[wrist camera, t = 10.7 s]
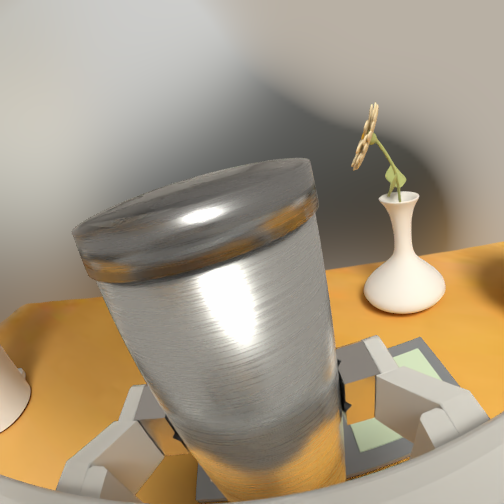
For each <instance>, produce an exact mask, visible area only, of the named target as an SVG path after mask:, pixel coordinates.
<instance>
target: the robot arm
mask: <svg viewBox="0 0 504 504" xmlns="http://www.w3.org/2000/svg"><path fill="white" fill-rule="evenodd" d="M336 355H337V364H338V373H339V383H340V394H341V405H342V412H343V415H344V417H345V420H346V423H347V425H350V424H354V423H358V422H361V421H365V420H368V419H371V418H374V417H375V419H376V420H378V421H379V422H381V423H382V424H384V425H385V426H387V427H388V428H390V429H391V430H393V431H395V432H396V433H398V434H399V435H401V436H402V437H404V438H405V439H407V440H409V441H410V442H412V443H413V444H414V445H413V448H412V452H411V456H410V459H409V460H408V461H405V462H403V463H400V464H398V465H395V466H392V467H390V468H387V469H384V470H381V471H378V472H375V473H372V474H369V475H366V476H363V477H360V478H356V479H353V480H350V481H346V482H343V483H339V484H335V485H331V486H327V487H323V488H319V489H314V490H310V491H305V492H300V493H295V494H290V495H284V496H278V497H272V498H265V499H258V500H250V501H240V502H229V503H215V504H504V411H503V412H502V413H500V414H499V415H497V416H495V417H494V418H492V419H490V418H489V417H488V415H487V414H486V413H485V411H484V410H483V409H482V407H481V406H480V404H479V403H478V402H477V400H476V399H475V398H474V396H473V395H472V394H471V392H470V391H469V390H466V389H463V388H460V387H458V386H455V385H452V384H449V383H447V382H444V381H441V380H439V379H436V378H433V377H431V376H428V375H426V374H423V373H420V372H418V371H415V370H413V369H410V368H408V367H405V366H402V367H399V366H398V365H397V363H396V362H395V360H394V359H393V357H392V356H391V354H390V353H389V351H388V349H387V348H386V346H385V345H384V343H383V342H382V340H381V339H380V337H379V336H377V335H375V336H372V337H369V338H366V339H363V340H361V341H358V342H355V343H351V344H348V345H345V346H341V347H338V348H336ZM25 378H26V374H25V372H24V371H23V369H22V368H18V369H17V367H16V366H15V365H14V363H13V362H12V360H11V359H10V358H9V356H8V355H7V354H6V352H5V351H4V349H3V348H2V347H1V345H0V432H2V431H3V430H5V429H6V428H7V427H9V426H10V425H11V424H12V423H13V422H14V421H15V420H16V419H17V418H18V417H19V416H20V414H21V413H22V412H23V410H24V409H25V407H26V405H27V403H28V401H29V398H30V392H31V390H30V386H29V384H28V383H27V381H26V380H25ZM189 452H190V450H189V449H188V447H187V446H186V445H185V443H184V442H183V440H182V439H181V437H180V436H179V434H178V433H177V431H176V430H175V428H174V427H173V425H172V424H171V422H170V421H169V419H168V418H167V416H166V414H165V413H164V411H163V410H162V408H161V406H160V405H159V403H158V401H157V400H156V398H155V397H154V395H153V393H152V391H151V390H150V388H149V386H148V385H147V384H144V385H133V386H132V387H131V388H130V389H129V392H128V395H127V398H126V400H125V403H124V406H123V409H122V411H121V414H120V417H119V420H118V421H114V422H113V423H112V424H110V425H109V426H108V427H107V428H106V429H105V430H103V431H102V432H101V433H100V434H99V435H98V436H96V437H95V438H94V439H93V440H92V441H91V442H89V443H88V444H87V445H86V446H85V447H83V448H82V449H81V450H80V451H79V452H78V453H76V454H75V455H74V456H73V457H72V458H70V459H69V460H68V461H67V462H66V464H65V467H64V469H63V472H62V475H61V477H60V480H59V482H58V485H57V488H56V490H51V489H47V488H43V487H39V486H35V485H32V484H28V483H25V482H21V481H18V480H15V479H12V478H9V477H6V476H3V475H0V504H147V503H143V502H142V501H141V500H140V499H138V498H137V497H136V496H135V494H136V493H137V492H138V491H139V489H140V488H141V487H142V485H143V484H144V483H145V482H146V480H147V479H148V478H149V477H150V475H151V474H152V473H153V471H154V470H155V469H156V468H157V466H158V465H159V464H160V462H161V461H162V460H163V458H164V456H167V455H181V454H189Z"/></svg>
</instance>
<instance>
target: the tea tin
mask: <svg viewBox="0 0 504 504" xmlns="http://www.w3.org/2000/svg"><path fill="white" fill-rule="evenodd" d="M318 206H319V203H318V198H317V193H316V187H315V182H314V177H313V173H312V168H311V163H310V160H309V159H305V158H288V159H277V160H271V161H263V162H258V163H252V164H247V165H242V166H238V167H232V168H228V169H224V170H220V171H215V172H212V173H208V174H204V175H200V176H197V177H193V178H190V179H186V180H183V181H180V182H177V183H173V184H170V185H167V186H164V187H161V188H158V189H155V190H153V191H150V192H147V193H145V194H142V195H139V196H137V197H134V198H131V199H129V200H126V201H124V202H121V203H119V204H117V205H115V206H112V207H110V208H108V209H106V210H104V211H102V212H100V213H98V214H96V215H94V216H92V217H90V218H88V219H86V220H85V221H83V222H82V223H80V224H79V225H77V226H76V227H75V228H74V229H73V230H72V235H73V237H74V240H75V243H76V246H77V248H78V251H79V253H80V256H81V259H82V261H83V264H84V266H85V269H86V271H87V273H88V276H89V277H91V278H92V279H94V280H96V282H97V284H98V287H99V289H100V291H101V293H102V296H103V298H104V300H105V303H106V305H107V307H108V309H109V311H110V314H111V316H112V318H113V320H114V322H115V324H116V326H117V328H118V330H119V332H120V334H121V336H122V338H123V340H124V342H125V344H126V346H127V348H128V350H129V352H130V354H131V356H132V358H133V359H134V361H135V363H136V365H137V367H138V369H139V370H140V372H141V374H142V376H143V378H144V379H145V381H146V383H147V385H148V386H149V388H150V390H151V391H152V393H153V395H154V397H155V398H156V400H157V401H158V403H159V405H160V406H161V408H162V410H163V411H164V413H165V414H166V416H167V418H168V419H169V421H170V422H171V424H172V425H173V427H174V428H175V430H176V431H177V433H178V434H179V436H180V437H181V439H182V440H183V442H184V443H185V445H186V446H187V447H188V449H189V450H190V452H191V453H192V455H193V456H194V457H195V459H196V460H197V461H198V463H199V464H200V466H201V467H202V468H203V470H204V471H205V472H206V474H207V475H208V476H209V477H210V479H211V480H212V481H213V483H214V484H215V485H216V486H217V488H218V489H219V490H220V491H221V493H222V494H223V495H224V496H225V497H226V499H227V500H228V501H229V502H240V501H250V500H258V499H265V498H272V497H278V496H284V495H290V494H295V493H300V492H305V491H310V490H314V489H319V488H323V487H327V486H331V485H335V484H339V483H343V482H346V467H345V447H344V432H343V418H342V405H341V394H340V383H339V373H338V364H337V355H336V346H335V338H334V330H333V322H332V315H331V307H330V300H329V293H328V287H327V280H326V274H325V267H324V261H323V255H322V250H321V244H320V237H319V232H318V226H317V221H316V215H315V212H316V211H317V209H318Z"/></svg>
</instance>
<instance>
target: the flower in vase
mask: <svg viewBox="0 0 504 504" xmlns="http://www.w3.org/2000/svg"><path fill="white" fill-rule="evenodd" d="M377 115H378V104H377V106H376V102H375V103H374V109H373V105H372V104H371V107H370V111H369V119H368V120H366V123H365V126H364V132H363V134H362V139H361V140H360V142H359V144H358V147H357V150H356V156H355V158H354V160H353V162H352V165H351V166H354V164H355V163H356V164H355V166H354V168H353V170H355V169H356V170H357V169H358V168H359V167H360V165H361V163H362V161H363V159H364V157H365V154H366V151H367V149H368V146H369V145H372V144H375V143H377V145H378V146H379V147H380V149H381V150H382V151H383V153H384V154H385V156H386V157H387V159H388V161H389V162H390V164H391V166H390V167H389V169H388V170H387V172H386V175H385V177H386V179H387V180H388V181H389V182H390V183H391V185H390V190H389V192H388V194H385V195H383V196H381V197H380V198H379V200H380V202H381V203H382V204H383V205H384V206H385V208H386V209H387V211H388V213H389V215H390V219H391V222H392V226H393V232H394V242H395V247H394V252H393V255H392V256H391V258H390V259H388V260H387V261H386V262H385V263H383V264H382V265H381V266H380V267H378V268H377V269H376V270H375V271H374V272H373V273H372V274H371V275H370V276H369V277H368V279H367V281H366V283H365V286H364V295H365V297H366V299H367V300H368V301H369V302H370V303H371V304H372V305H373V306H375V307H376V308H378V309H380V310H383V311H386V312H390V313H398V314H407V313H415V312H419V311H423V310H425V309H428V308H430V307H432V306H433V305H435V304H436V303H437V302H438V301H439V300H440V299H441V297H442V296H443V294H444V293H445V289H446V286H445V282H444V279H443V277H442V275H441V274H440V273H439V272H438V271H437V270H436V269H435V268H434V267H433V266H431V265H430V264H428V263H427V262H425V261H424V260H422V259H421V258H419V257H418V256H417V255H416V254H415V253H414V251H413V247H412V241H411V220H412V212H413V209H414V206H415V204H416V201H417V200H418V198H419V195H418V194H417V193H414V192H400V187H402V186H403V184H404V183H405V182H406V178H405V177H404V175H403V174H402V173H401V172H400V171H399V170H398V169H397V168H396V166H395V165H394V164H393V162H392V160H391V158H390V157H389V155H388V153H387V152H386V150H385V149H384V147H383V146H382V145H381V143H380V142H379V141H378V139H377V137H376V135H375V134H374V133H373V131H374V128H375V124H376V120H377ZM394 186H395V187H397V192H393V193H392V191H393V188H394Z"/></svg>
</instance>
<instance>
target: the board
mask: <svg viewBox="0 0 504 504" xmlns="http://www.w3.org/2000/svg"><path fill="white" fill-rule="evenodd" d="M388 351H389V353H390V354H391V356H392V357H393V359H394V360H395V362H396V363H397V365H398V366H399V367H402V366H405V367H408V368H410V369H413V370H415V371H418V372H420V373H423V374H426V375H428V376H431V377H433V378H436V379H439V380H441V381H444V382H447V383H449V384H452V385H455V386H458V387H460V386H459V385H458V384H457V382H456V381H455V380H454V378H453V377H452V376H451V374H450V373H449V372H448V371H447V369H446V368H445V367H444V366H443V364H442V363H441V362H440V360H439V359H438V358H437V357H436V355H435V354H434V353H433V352H432V350H431V349H430V348H429V347H428V346H427V344H426V343H425V342H424V341H423V339H422V338H421V337H418V338H416V339H413V340H411V341H408V342H405V343H402V344H400V345H397V346H394V347H391V348H388ZM342 418H343V432H344V447H345V467H346V479H347V478H350V477H354V476H357V475H360V474H363V473H366V472H369V471H372V470H375V469H378V468H381V467H384V466H387V465H389V464H392V463H395V462H397V461H400V460H402V459H405V458H407V457H410V456H411V452H412V448H413V445H414V444H413V443H412V442H410V441H409V440H407V439H405V438H404V437H402V436H401V435H399V434H398V433H396V432H395V431H393V430H391V429H390V428H388V427H387V426H385V425H384V424H382V423H381V422H379V421H378V420H376V419H375V417H374V418H371V419H368V420H365V421H361V422H358V423H354V424H350V425H347V423H346V420H345V417H344V415H343V412H342ZM196 501H197V502H198V503H201V502H218V501H228V500H227V499H226V497H225V496H224V495H223V494H222V493H221V491H220V490H219V489H218V488H217V486H216V485H215V484H214V483H213V481H212V480H211V479H210V477H209V476H208V475H207V474H206V472H205V471H204V470H203V468H202V467H201V466H200V464H199V463H198V472H197V487H196Z"/></svg>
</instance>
